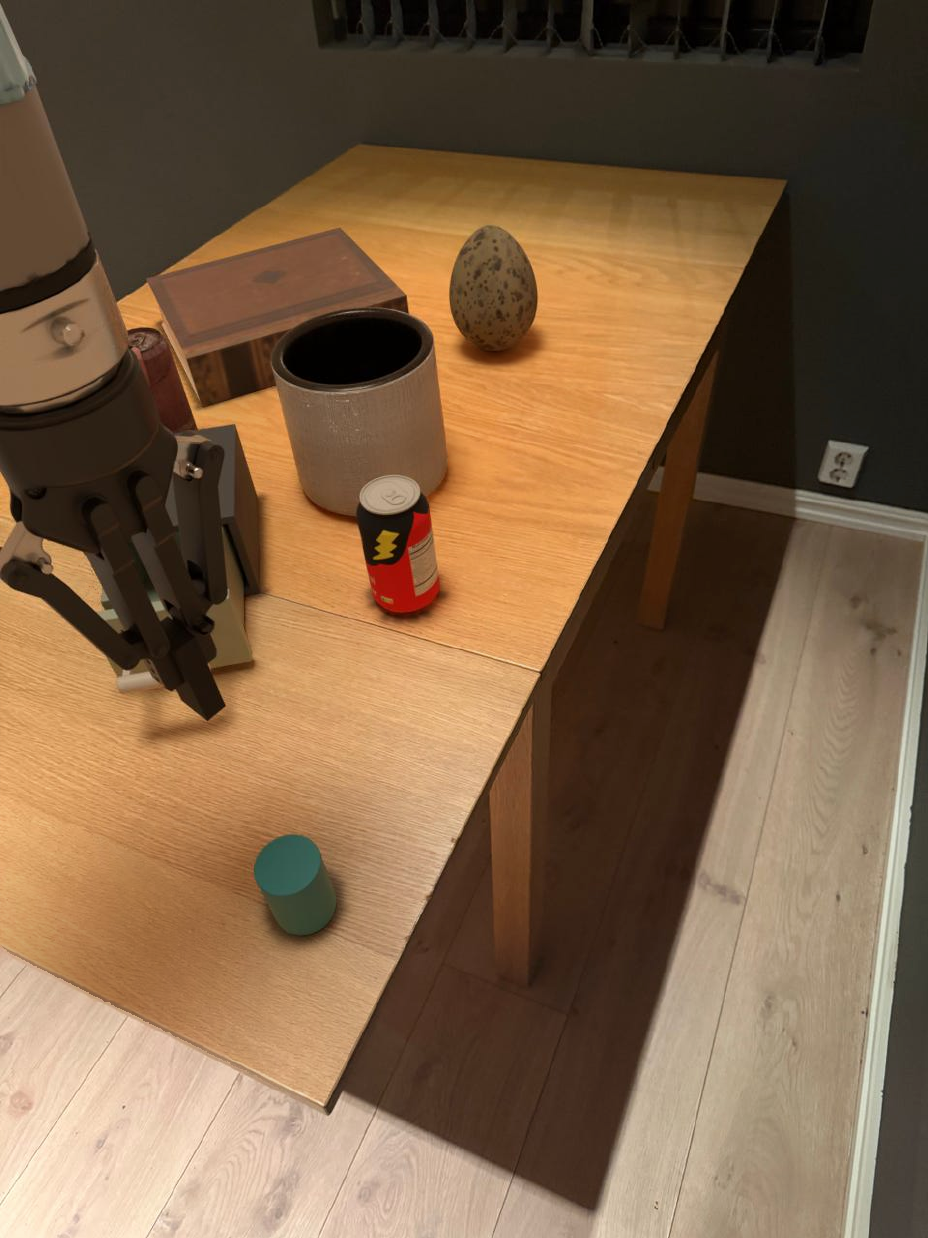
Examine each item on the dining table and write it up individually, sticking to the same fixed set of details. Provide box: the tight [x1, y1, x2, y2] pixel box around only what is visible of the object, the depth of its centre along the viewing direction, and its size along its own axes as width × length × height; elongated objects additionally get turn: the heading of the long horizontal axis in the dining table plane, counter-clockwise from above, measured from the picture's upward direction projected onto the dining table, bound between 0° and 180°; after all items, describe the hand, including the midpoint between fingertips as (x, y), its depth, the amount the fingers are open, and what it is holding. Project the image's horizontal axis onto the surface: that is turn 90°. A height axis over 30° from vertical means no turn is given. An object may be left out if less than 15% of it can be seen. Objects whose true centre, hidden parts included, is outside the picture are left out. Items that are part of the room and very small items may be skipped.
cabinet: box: [129, 423, 261, 597], centre depth 85 cm, size 15×13×10 cm
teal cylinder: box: [253, 834, 338, 937], centre depth 60 cm, size 4×4×6 cm
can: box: [127, 326, 199, 434], centre depth 97 cm, size 6×6×14 cm
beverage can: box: [355, 475, 440, 613], centre depth 78 cm, size 6×6×12 cm
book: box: [145, 227, 410, 408], centre depth 117 cm, size 24×28×6 cm
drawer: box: [95, 524, 253, 695], centre depth 76 cm, size 19×11×8 cm, turn 10°
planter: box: [271, 307, 448, 517], centre depth 90 cm, size 16×16×16 cm
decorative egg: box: [448, 224, 539, 352], centre depth 107 cm, size 11×11×15 cm
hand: (203, 703), depth 56 cm, fingers closed
